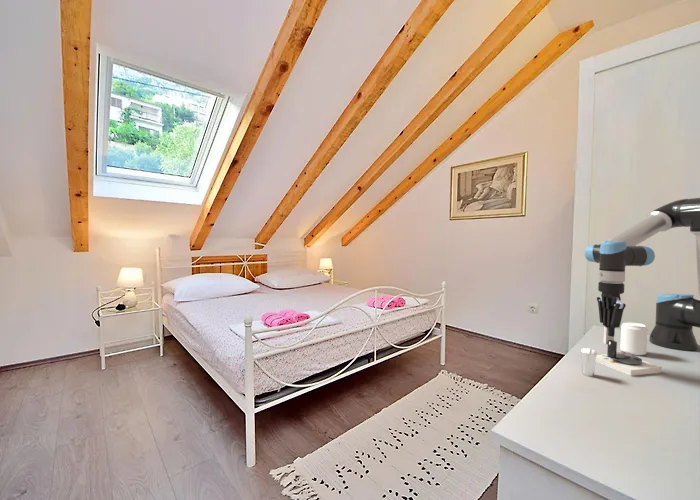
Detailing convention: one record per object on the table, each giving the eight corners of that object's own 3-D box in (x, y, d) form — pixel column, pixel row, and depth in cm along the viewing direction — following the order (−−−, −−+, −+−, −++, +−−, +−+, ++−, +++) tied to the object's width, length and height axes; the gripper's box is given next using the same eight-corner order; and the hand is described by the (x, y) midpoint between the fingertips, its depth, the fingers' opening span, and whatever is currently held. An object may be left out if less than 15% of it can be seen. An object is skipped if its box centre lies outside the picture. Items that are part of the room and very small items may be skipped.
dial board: (620, 357, 127) (620, 352, 127) (661, 372, 113) (661, 366, 113) (592, 360, 124) (592, 354, 124) (630, 375, 110) (630, 369, 110)
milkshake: (581, 376, 109) (582, 348, 109) (578, 370, 114) (580, 343, 114) (598, 379, 107) (599, 350, 107) (594, 373, 112) (595, 345, 111)
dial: (626, 355, 123) (626, 337, 123) (648, 364, 114) (650, 345, 114) (598, 355, 122) (598, 337, 122) (619, 365, 113) (619, 345, 113)
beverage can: (635, 349, 136) (636, 321, 136) (651, 356, 128) (653, 327, 127) (615, 348, 137) (616, 321, 136) (629, 355, 129) (631, 326, 128)
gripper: (590, 279, 126) (587, 337, 127) (611, 284, 113) (608, 349, 114) (611, 279, 124) (608, 338, 126) (635, 285, 112) (632, 350, 113)
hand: (608, 343), depth 120 cm, fingers closed
